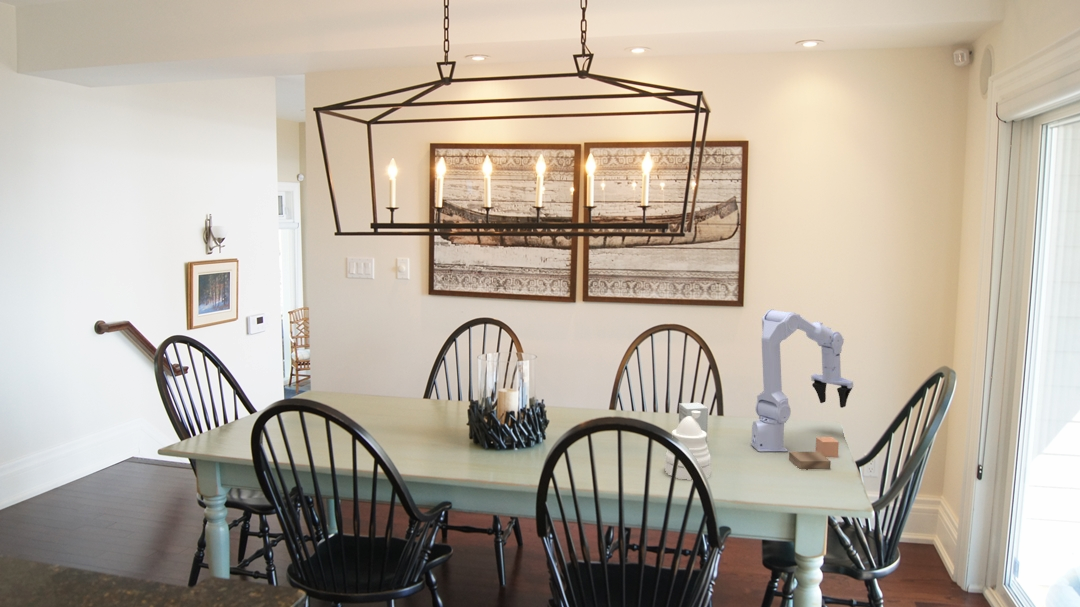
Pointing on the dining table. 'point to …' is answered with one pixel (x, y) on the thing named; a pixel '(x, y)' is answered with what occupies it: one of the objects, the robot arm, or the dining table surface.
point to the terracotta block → (827, 446)
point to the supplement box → (687, 409)
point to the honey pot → (690, 446)
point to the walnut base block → (809, 460)
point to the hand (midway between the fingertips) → (832, 404)
